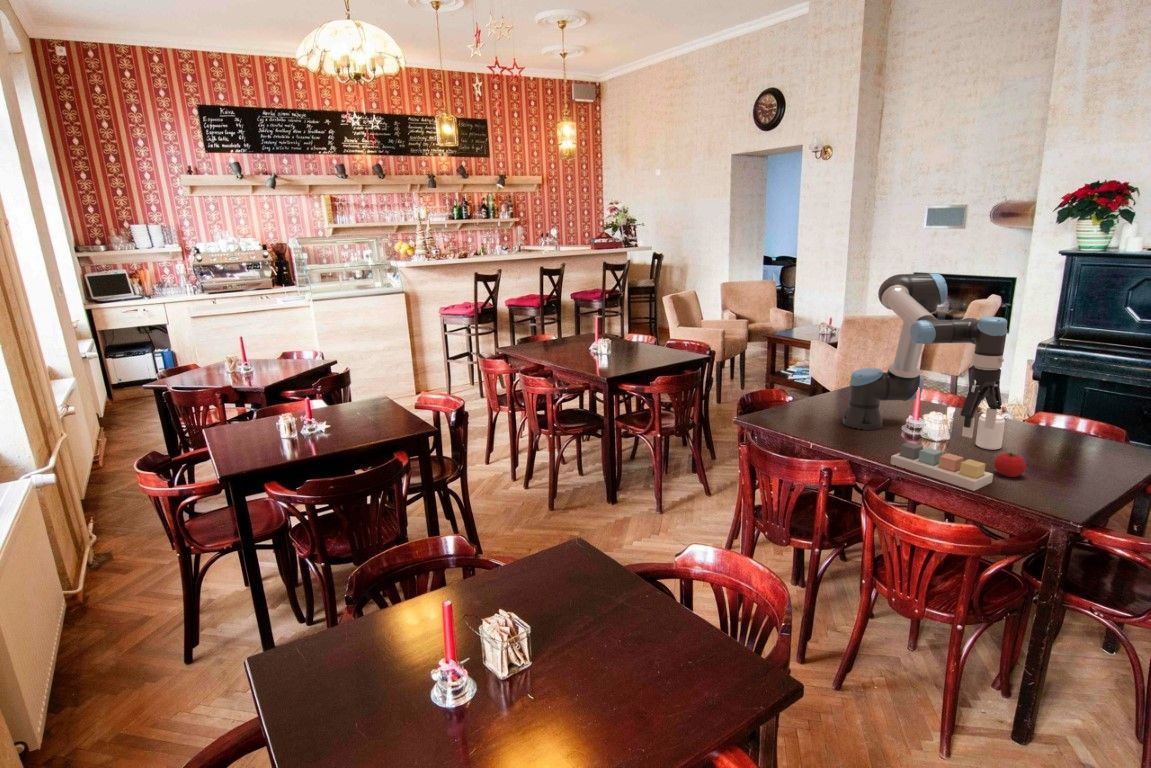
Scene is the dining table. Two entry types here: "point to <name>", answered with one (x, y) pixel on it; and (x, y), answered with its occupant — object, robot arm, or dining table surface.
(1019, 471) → the tomato
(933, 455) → the key
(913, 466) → the keypad
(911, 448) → the key
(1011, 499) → the dining table surface
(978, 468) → the key
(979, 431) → the beverage can
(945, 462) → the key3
